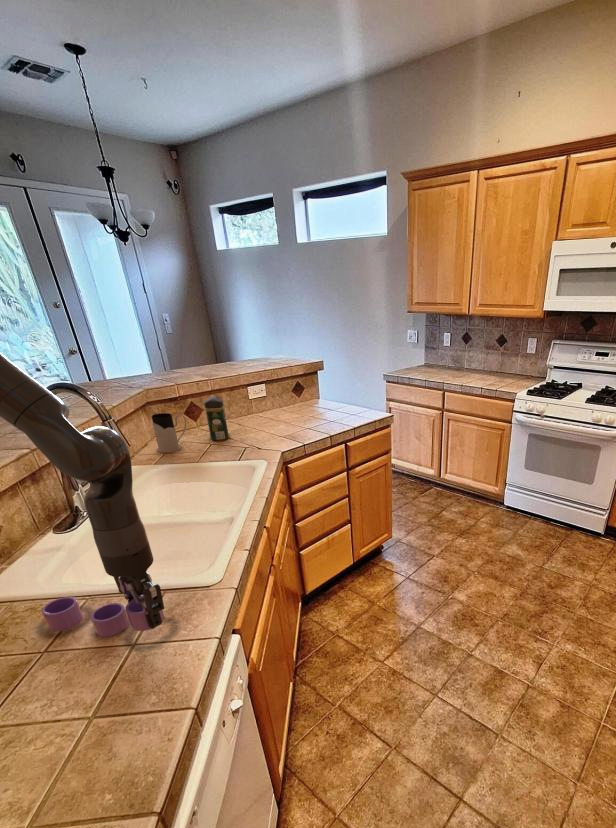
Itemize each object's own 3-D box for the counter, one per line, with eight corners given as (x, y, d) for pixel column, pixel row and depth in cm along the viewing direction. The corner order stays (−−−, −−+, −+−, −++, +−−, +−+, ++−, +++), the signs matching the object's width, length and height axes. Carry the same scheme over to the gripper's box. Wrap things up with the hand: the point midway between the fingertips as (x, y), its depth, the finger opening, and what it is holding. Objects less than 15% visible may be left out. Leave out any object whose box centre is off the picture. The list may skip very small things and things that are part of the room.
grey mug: (153, 450, 182) (145, 415, 176) (184, 442, 193) (177, 409, 186) (165, 454, 178) (157, 419, 171) (196, 446, 189) (189, 412, 182)
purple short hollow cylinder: (44, 623, 86) (36, 607, 84) (76, 609, 90) (69, 593, 88) (55, 635, 83) (48, 618, 81) (87, 620, 87) (81, 603, 85)
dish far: (125, 623, 82) (119, 605, 80) (155, 608, 86) (149, 591, 84) (140, 635, 79) (134, 617, 77) (170, 619, 83) (165, 601, 81)
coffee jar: (211, 435, 203) (204, 396, 195) (229, 434, 206) (222, 395, 197) (209, 441, 195) (202, 400, 187) (228, 440, 197) (221, 399, 189)
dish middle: (92, 630, 85) (85, 613, 83) (121, 615, 89) (116, 599, 87) (105, 642, 82) (98, 625, 80) (135, 626, 86) (129, 610, 84)
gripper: (81, 540, 76) (109, 615, 83) (120, 567, 68) (146, 646, 76) (125, 524, 81) (148, 596, 89) (166, 548, 74) (186, 624, 81)
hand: (147, 619), depth 82 cm, fingers closed on dish far, 5 cm apart
